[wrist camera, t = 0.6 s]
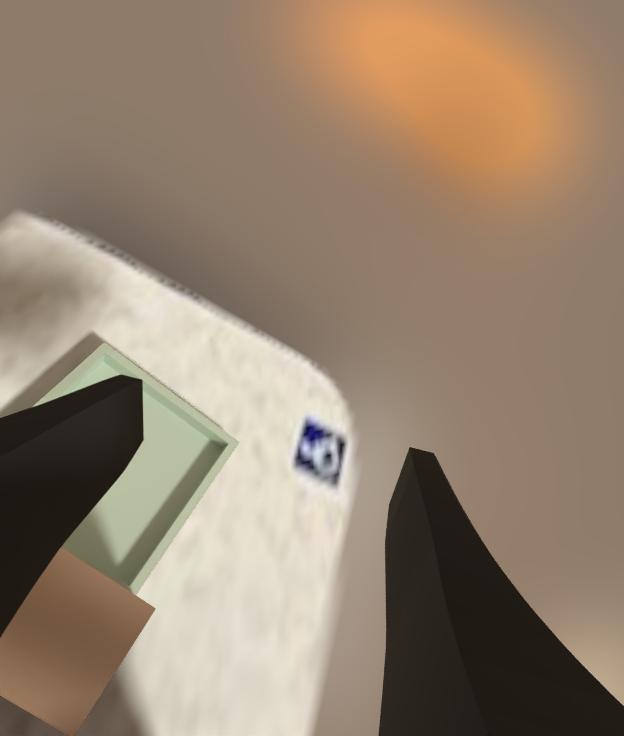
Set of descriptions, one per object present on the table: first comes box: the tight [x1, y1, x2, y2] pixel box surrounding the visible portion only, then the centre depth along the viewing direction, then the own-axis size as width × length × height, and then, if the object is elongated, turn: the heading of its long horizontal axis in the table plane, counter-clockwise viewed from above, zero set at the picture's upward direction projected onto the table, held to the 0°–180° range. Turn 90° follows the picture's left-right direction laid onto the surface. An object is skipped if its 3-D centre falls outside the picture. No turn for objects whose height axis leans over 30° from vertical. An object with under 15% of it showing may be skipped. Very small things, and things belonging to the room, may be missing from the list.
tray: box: [33, 342, 239, 595], centre depth 24 cm, size 10×10×2 cm
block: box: [0, 548, 156, 736], centre depth 19 cm, size 4×4×6 cm
